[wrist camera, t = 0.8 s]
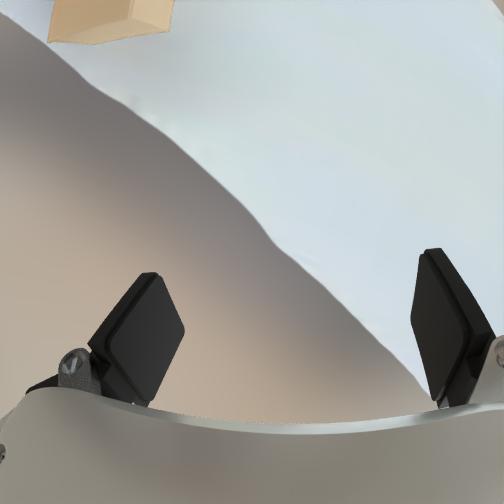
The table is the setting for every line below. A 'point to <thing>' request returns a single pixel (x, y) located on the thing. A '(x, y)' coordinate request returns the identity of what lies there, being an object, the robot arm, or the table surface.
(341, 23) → the table surface
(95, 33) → the carton
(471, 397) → the robot arm
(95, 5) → the flap
